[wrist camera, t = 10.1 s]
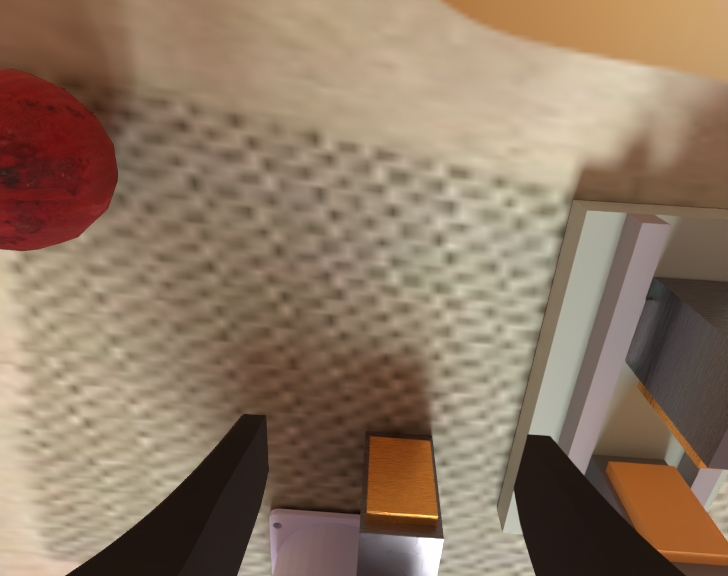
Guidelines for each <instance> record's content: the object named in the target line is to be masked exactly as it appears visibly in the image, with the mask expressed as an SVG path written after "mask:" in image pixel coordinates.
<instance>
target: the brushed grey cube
mask: <svg viewBox="0 0 728 576" xmlns="http://www.w3.org/2000/svg"><path fill="white" fill-rule="evenodd" d="M625 362H626V363H627V365H628V366H629V367H630V368H631V370H632V371H633V372H634V374H635V375H636V376H637V378H638V379H639V383H638V385H637V388H638V389H639V390H640V392H641V393H642V394H643V396H644V397H645V398H646V399H647V401H648V402H649V403H650V405H651V406H652V407H653V409H654V410H655V411H656V413H657V414H658V415H659V417H660V418H661V419H662V421H663V422H664V423H665V425H666V426H667V427H668V429H669V430H670V431H671V433H672V434H673V435H674V437H675V438H676V439H677V441H678V442H679V443H680V445H681V446H682V447H683V449H684V450H685V451H686V453H687V454H688V455H689V457H690V458H691V459H692V461H693V462H694V463H695V465H696V466H697V467H698V468H706V469H719V470H728V282H721V281H707V280H692V279H678V278H663V277H654V279H653V281H652V284H651V287H650V290H649V293H648V296H647V298H646V301H645V304H644V307H643V310H642V313H641V316H640V318H639V321H638V324H637V327H636V330H635V333H634V335H633V338H632V341H631V344H630V347H629V350H628V352H627V355H626V358H625Z"/></svg>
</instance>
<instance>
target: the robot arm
mask: <svg viewBox="0 0 728 576" xmlns="http://www.w3.org/2000/svg"><path fill="white" fill-rule="evenodd" d="M268 471H269V465H268V445H267V425H266V415H252V414H244V415H242V416H241V417H240V418H239V419H238V421H237V422H236V423H235V424H234V426H233V427H232V428H231V429H230V430H229V432H228V433H227V434H226V435H225V436H224V438H223V439H222V440H221V441H220V442H219V444H218V445H217V446H216V447H215V448H214V449H213V450H212V452H211V453H210V454H209V455H208V456H207V457H206V458H205V459H204V460H203V461H202V462H201V464H200V465H199V466H198V467H197V468H196V469H195V470H194V471H193V472H192V473H191V474H190V475H189V476H188V477H187V478H186V479H185V480H184V481H183V482H182V483H181V484H180V485H179V486H178V487H177V488H176V489H175V490H174V491H173V492H172V493H171V494H170V495H169V496H168V497H167V498H166V499H165V500H163V501H162V502H161V503H160V504H159V505H158V506H157V507H156V508H155V509H153V510H152V511H151V512H150V513H149V514H148V515H147V516H145V517H144V518H143V519H142V520H141V521H139V522H138V523H137V524H136V525H135V526H133V527H132V528H131V529H130V530H128V531H127V532H126V533H124V534H123V535H122V536H121V537H119V538H118V539H117V540H116V541H114V542H113V543H112V544H110V545H109V546H108V547H106V548H105V549H104V550H102V551H101V552H99V553H98V554H97V555H95V556H94V557H92V558H91V559H89V560H88V561H86V562H85V563H84V564H82V565H81V566H79V567H78V568H76V569H75V570H73V571H72V572H70V573H69V574H67V575H66V576H237V574H238V571H239V569H240V566H241V563H242V560H243V557H244V554H245V551H246V548H247V545H248V542H249V539H250V537H251V534H252V531H253V528H254V525H255V522H256V519H257V516H258V513H259V510H260V507H261V503H262V498H263V494H264V490H265V485H266V480H267V476H268ZM514 494H515V500H516V505H517V511H518V516H519V521H520V526H521V529H522V533H523V536H524V539H525V543H526V546H527V549H528V553H529V556H530V559H531V562H532V565H533V569H534V572H535V575H536V576H686V575H685V574H684V573H683V572H681V571H680V570H679V569H678V568H677V567H675V566H674V565H673V564H672V563H671V562H670V561H669V560H668V559H666V558H665V557H664V556H663V555H662V554H661V553H660V552H659V551H657V550H656V549H655V548H654V547H653V546H652V545H651V544H650V543H649V542H648V541H646V540H645V539H644V538H643V537H642V536H641V535H640V534H639V533H638V532H637V531H636V530H635V529H634V528H633V527H632V526H631V525H630V524H629V523H628V522H627V521H626V520H625V519H624V518H623V517H622V516H621V515H620V514H619V513H618V512H617V511H616V510H615V509H614V508H613V507H612V506H611V505H610V503H609V502H608V501H607V500H606V499H605V498H604V497H603V496H602V495H601V494H600V493H599V492H598V490H597V489H596V488H595V487H594V486H593V485H592V484H591V483H590V482H589V480H588V479H587V478H586V477H585V476H584V475H583V474H582V472H581V471H580V470H579V469H578V468H577V467H576V465H575V464H574V463H573V462H572V461H571V460H570V458H569V457H568V456H567V455H566V454H565V453H564V451H563V450H562V449H561V448H560V447H559V446H558V444H557V443H556V442H555V441H554V440H553V439H552V437H551V436H546V435H532V434H527V438H526V442H525V446H524V450H523V454H522V457H521V461H520V465H519V469H518V473H517V477H516V480H515V484H514ZM359 526H360V515H358V514H344V513H331V512H318V511H305V510H291V509H273V510H272V511H271V512H270V516H269V530H270V549H271V568H272V576H356V573H357V558H358V542H359Z"/></svg>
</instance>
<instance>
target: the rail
mask: <svg viewBox="0 0 728 576" xmlns="http://www.w3.org/2000/svg"><path fill="white" fill-rule="evenodd" d="M654 277H663V278H678V279H692V280H707V281H721V282H728V209H715V208H698V207H682V206H666V205H650V204H633V203H617V202H601V201H585V200H573V203H572V207H571V211H570V215H569V219H568V223H567V227H566V232H565V236H564V240H563V244H562V248H561V252H560V256H559V260H558V264H557V268H556V272H555V276H554V280H553V284H552V288H551V292H550V296H549V300H548V304H547V308H546V313H545V317H544V321H543V325H542V329H541V333H540V337H539V341H538V345H537V349H536V353H535V357H534V361H533V365H532V369H531V373H530V377H529V381H528V385H527V389H526V394H525V398H524V402H523V406H522V410H521V414H520V418H519V422H518V426H517V430H516V434H515V438H514V442H513V446H512V450H511V454H510V458H509V462H508V466H507V470H506V475H505V479H504V483H503V487H502V491H501V495H500V499H499V503H498V507H497V511H498V516H499V520H500V524H501V528H502V532H503V533H513V534H523V533H522V529H521V526H520V521H519V516H518V511H517V505H516V500H515V494H514V484H515V480H516V477H517V473H518V469H519V465H520V461H521V457H522V454H523V450H524V446H525V442H526V438H527V434H532V435H546V436H551V437H552V439H553V440H554V441H555V442H556V443H557V444H558V446H559V447H560V448H561V449H562V450H563V451H564V453H565V454H566V455H567V456H568V457H569V458H570V460H571V461H572V462H573V463H574V464H575V465H576V467H577V468H578V469H579V470H580V471H581V472H582V474H583V475H584V476H585V477H586V478H587V479H588V480H589V482H590V483H591V484H592V485H593V486H594V487H595V488H596V489H597V490H598V492H599V493H600V494H601V495H602V496H603V497H604V498H605V499H606V500H607V501H608V502H609V503H610V505H611V506H612V507H613V508H614V509H615V510H616V511H617V512H618V513H619V514H620V515H621V516H622V517H623V518H624V519H625V520H626V521H627V522H628V523H629V524H630V525H631V526H632V527H633V528H634V529H635V530H636V531H637V532H638V533H639V534H640V535H641V536H642V537H643V538H644V539H645V540H646V541H648V542H649V543H650V544H651V545H652V546H653V547H654V548H655V549H656V550H657V551H659V552H660V553H661V554H662V555H663V556H664V557H665V558H666V559H668V560H669V561H670V562H671V563H672V564H673V565H674V566H675V567H677V568H678V569H679V570H680V571H681V572H683V573H684V574H685V575H686V576H728V542H727V540H726V539H725V537H724V536H723V535H722V533H721V532H720V530H719V529H718V527H717V526H716V525H715V523H714V522H713V520H712V519H711V517H710V516H709V515H708V511H709V509H710V507H711V505H712V503H713V501H714V499H715V497H716V495H717V493H718V492H719V490H720V488H721V486H722V484H723V482H724V480H725V478H726V476H727V474H728V470H719V469H706V468H698V467H697V466H696V465H695V463H694V462H693V461H692V459H691V458H690V457H689V455H688V454H687V453H686V451H685V450H684V449H683V447H682V446H681V445H680V443H679V442H678V441H677V439H676V438H675V437H674V435H673V434H672V433H671V431H670V430H669V429H668V427H667V426H666V425H665V423H664V422H663V421H662V419H661V418H660V417H659V415H658V414H657V413H656V411H655V410H654V409H653V407H652V406H651V405H650V403H649V402H648V401H647V399H646V398H645V397H644V396H643V394H642V393H641V392H640V390H639V389H638V388H637V385H638V383H639V379H638V378H637V376H636V375H635V374H634V372H633V371H632V370H631V368H630V367H629V366H628V365H627V363H626V362H625V358H626V355H627V352H628V350H629V347H630V344H631V341H632V338H633V335H634V333H635V330H636V327H637V324H638V321H639V318H640V316H641V313H642V310H643V307H644V304H645V301H646V298H647V296H648V293H649V290H650V287H651V284H652V281H653V279H654Z"/></svg>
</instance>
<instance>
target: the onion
mask: <svg viewBox="0 0 728 576" xmlns="http://www.w3.org/2000/svg"><path fill="white" fill-rule="evenodd" d="M117 181H118V170H117V163H116V157H115V150H114V144H113V143H112V141H111V140H110V138H109V136H108V135H107V133H106V132H105V130H104V128H103V127H102V125H101V124H100V122H99V121H98V119H97V117H96V116H95V115H94V114H93V112H91V111H90V110H89V109H88V108H87V107H85V106H84V105H83V104H82V103H80V102H79V101H78V100H77V99H76V98H74V97H73V96H72V95H71V94H69V93H68V92H67V91H66V90H65V89H63V88H61V87H59V86H56V85H54V84H52V83H49V82H47V81H45V80H42V79H40V78H38V77H36V76H33V75H31V74H28V73H24V72H21V71H17V70H14V69H0V249H4V250H16V251H28V250H38V249H41V248H45V247H48V246H52V245H55V244H59V243H62V242H65V241H68V240H71V239H74V238H77V237H79V236H80V235H81V234H82V233H83V232H84V231H85V230H86V229H87V228H88V227H89V226H90V225H91V224H92V223H93V222H94V221H95V220H96V219H97V218H99V217H100V216H101V215H102V214H103V213H104V212H105V211H106V210H107V209H108V207H109V204H110V202H111V199H112V196H113V193H114V190H115V187H116V184H117Z"/></svg>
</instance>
